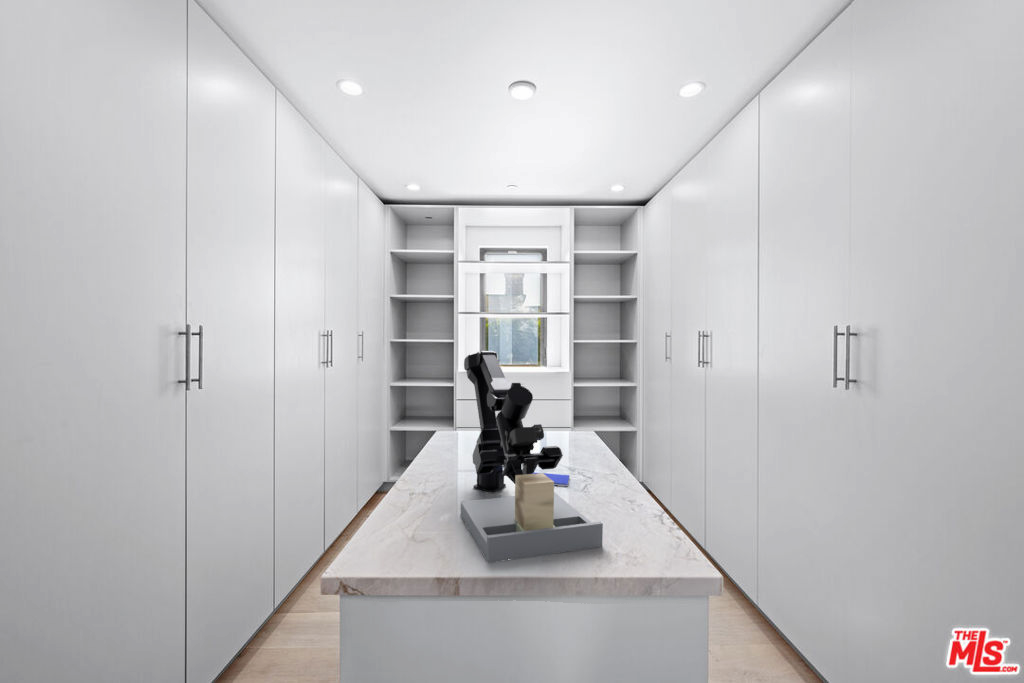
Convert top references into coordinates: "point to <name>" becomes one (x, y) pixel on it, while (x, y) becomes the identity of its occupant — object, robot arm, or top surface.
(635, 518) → the top surface
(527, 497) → the maple block
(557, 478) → the hard drive
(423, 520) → the top surface
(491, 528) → the board
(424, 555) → the top surface
